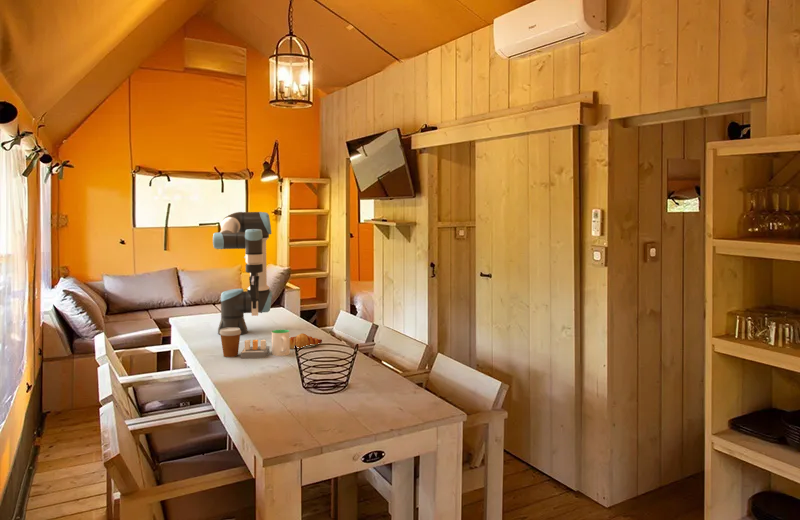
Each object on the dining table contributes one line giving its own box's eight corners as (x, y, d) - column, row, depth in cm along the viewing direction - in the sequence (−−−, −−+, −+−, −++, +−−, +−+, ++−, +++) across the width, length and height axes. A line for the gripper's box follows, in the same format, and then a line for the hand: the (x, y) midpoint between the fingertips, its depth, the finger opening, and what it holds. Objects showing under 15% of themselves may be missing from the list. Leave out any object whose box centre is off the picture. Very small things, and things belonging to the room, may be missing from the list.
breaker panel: (245, 352, 274) (245, 346, 274) (269, 351, 275) (269, 345, 275) (240, 358, 262) (240, 352, 262) (266, 358, 264) (266, 351, 263)
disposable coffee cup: (235, 358, 262) (235, 331, 261) (215, 357, 264) (215, 330, 263) (245, 353, 272) (244, 327, 271) (226, 352, 273) (225, 326, 272)
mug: (295, 356, 267) (295, 333, 266) (278, 358, 263) (278, 335, 262) (286, 350, 277) (285, 328, 276) (269, 352, 273) (269, 330, 272)
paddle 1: (245, 348, 270) (245, 339, 269) (250, 348, 270) (250, 339, 270) (244, 350, 267) (244, 341, 266) (249, 349, 267) (249, 341, 267)
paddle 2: (253, 348, 270) (253, 339, 270) (258, 348, 270) (258, 339, 270) (252, 349, 267) (252, 341, 267) (257, 349, 267) (257, 341, 267)
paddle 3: (261, 348, 270) (261, 339, 270) (265, 348, 271) (265, 339, 270) (260, 349, 268) (260, 341, 267) (265, 349, 268) (265, 341, 267)
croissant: (278, 356, 280) (278, 343, 276) (276, 343, 288) (276, 330, 284) (323, 353, 286) (324, 340, 282) (320, 339, 294) (320, 327, 290)
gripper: (247, 262, 272) (248, 312, 274) (243, 265, 259) (244, 318, 261) (264, 262, 272) (265, 312, 275) (260, 265, 259) (261, 318, 262)
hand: (254, 315), depth 268 cm, fingers closed
